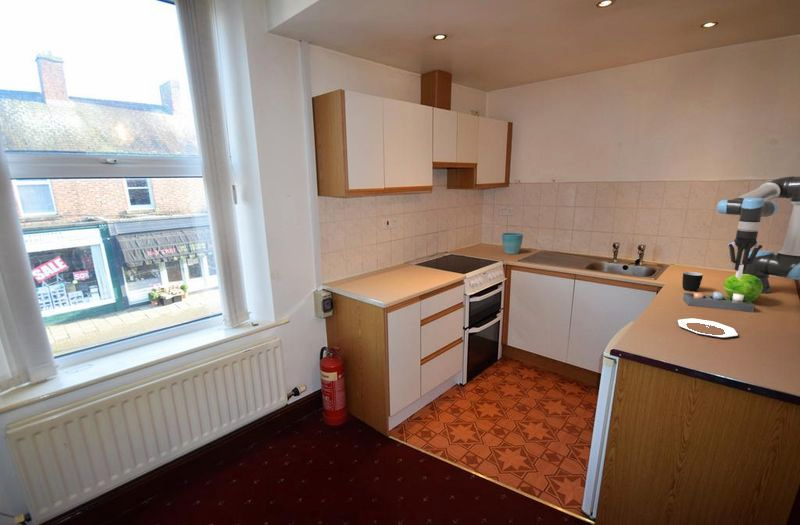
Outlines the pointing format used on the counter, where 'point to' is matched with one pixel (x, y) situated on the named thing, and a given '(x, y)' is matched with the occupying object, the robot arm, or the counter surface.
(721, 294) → the key slate
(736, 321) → the counter surface
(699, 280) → the mug
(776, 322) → the counter surface
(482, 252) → the counter surface
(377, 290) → the counter surface
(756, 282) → the lettuce
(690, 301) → the panel
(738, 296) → the key ivory
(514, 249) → the flower pot
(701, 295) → the key rust
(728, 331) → the plate
